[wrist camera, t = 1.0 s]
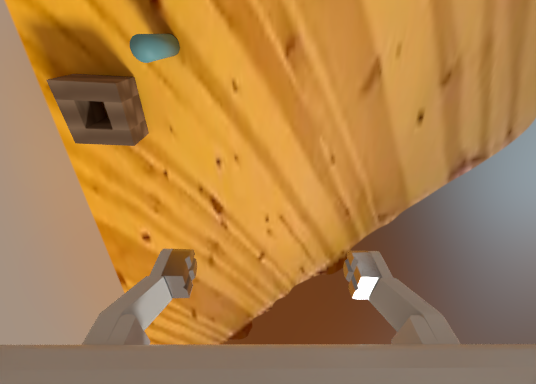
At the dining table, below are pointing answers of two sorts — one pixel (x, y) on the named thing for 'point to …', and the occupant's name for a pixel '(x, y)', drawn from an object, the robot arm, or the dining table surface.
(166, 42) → the teal peg
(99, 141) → the walnut hole block
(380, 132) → the dining table surface
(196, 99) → the dining table surface
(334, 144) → the dining table surface
